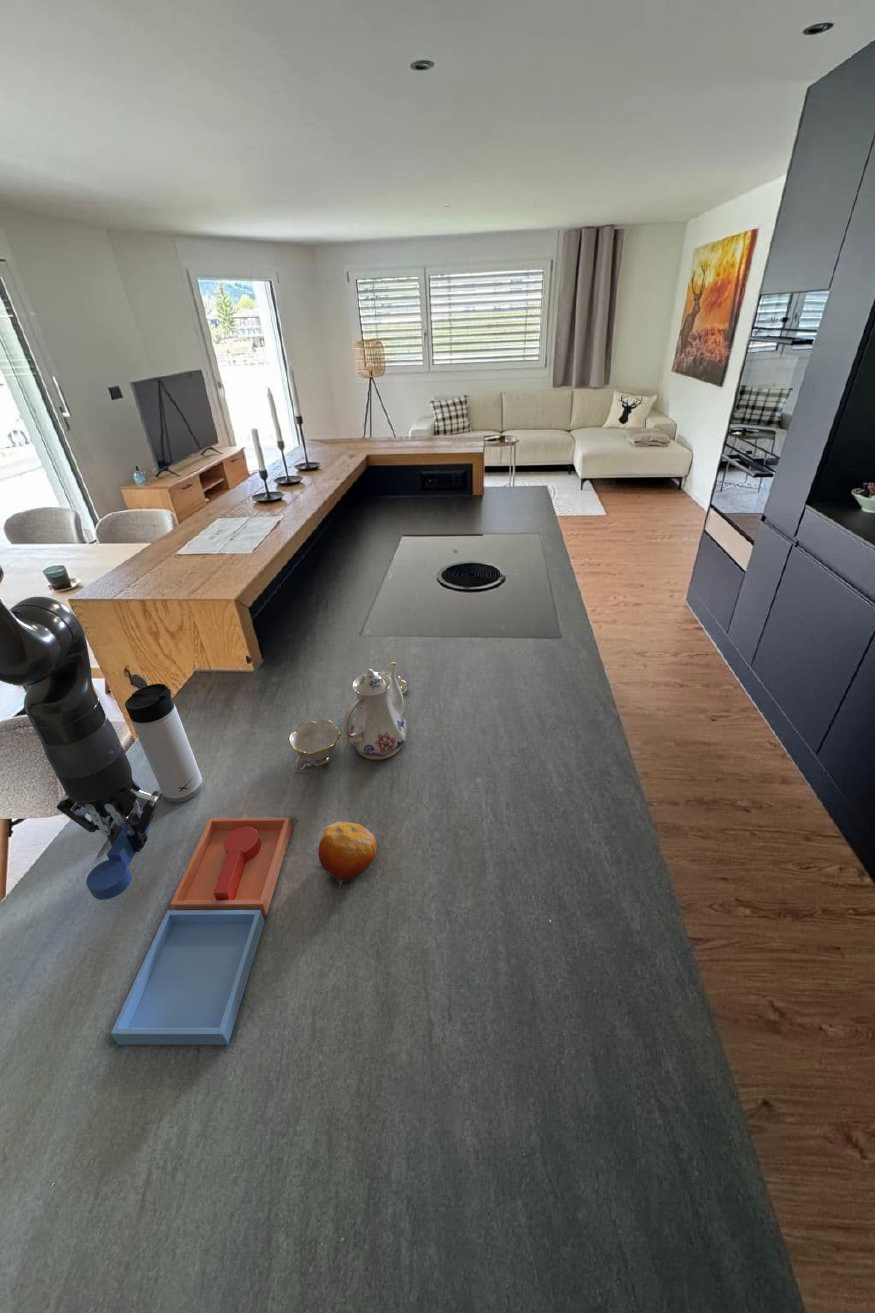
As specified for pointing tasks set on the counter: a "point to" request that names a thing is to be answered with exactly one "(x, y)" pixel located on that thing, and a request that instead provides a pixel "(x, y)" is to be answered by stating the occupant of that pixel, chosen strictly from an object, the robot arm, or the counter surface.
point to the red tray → (256, 874)
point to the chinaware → (359, 722)
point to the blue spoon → (113, 870)
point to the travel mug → (164, 742)
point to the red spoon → (236, 860)
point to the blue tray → (191, 979)
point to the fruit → (346, 850)
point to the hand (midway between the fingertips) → (132, 846)
